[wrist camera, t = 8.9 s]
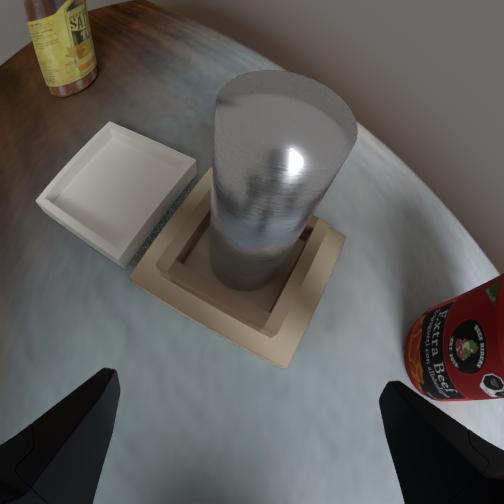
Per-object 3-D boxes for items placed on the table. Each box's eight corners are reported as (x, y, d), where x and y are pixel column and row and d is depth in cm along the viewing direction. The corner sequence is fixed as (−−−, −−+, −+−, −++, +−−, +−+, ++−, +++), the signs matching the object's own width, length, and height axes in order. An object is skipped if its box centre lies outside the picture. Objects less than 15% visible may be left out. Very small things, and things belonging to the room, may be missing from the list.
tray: (125, 269, 19) (118, 259, 18) (44, 212, 20) (35, 200, 18) (196, 174, 23) (196, 159, 21) (113, 135, 24) (109, 121, 22)
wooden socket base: (282, 369, 18) (295, 367, 15) (132, 283, 19) (120, 266, 16) (340, 243, 22) (358, 223, 19) (210, 175, 23) (212, 148, 20)
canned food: (396, 310, 21) (507, 253, 11) (465, 305, 22) (560, 258, 12) (403, 411, 18) (525, 411, 8) (472, 390, 19) (577, 372, 9)
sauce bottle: (97, 90, 26) (70, -77, 8) (46, 107, 24) (1, -49, 6) (101, 62, 28) (83, -80, 10) (55, 76, 27) (24, -59, 9)
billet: (244, 306, 18) (299, 192, 7) (195, 255, 19) (185, 100, 8) (292, 259, 20) (380, 126, 9) (244, 214, 21) (281, 59, 10)
